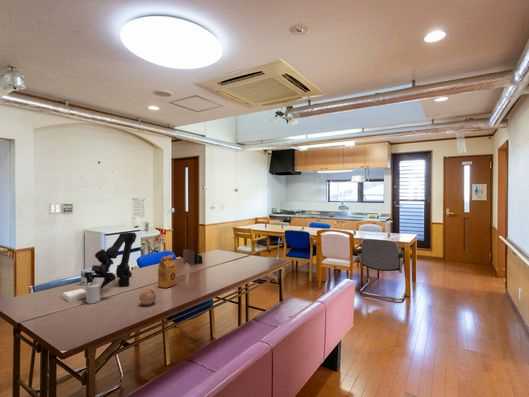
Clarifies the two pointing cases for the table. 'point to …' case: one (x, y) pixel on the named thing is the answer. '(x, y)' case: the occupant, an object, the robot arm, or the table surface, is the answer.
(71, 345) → the table surface
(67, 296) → the stand
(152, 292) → the onion
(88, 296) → the can
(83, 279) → the light bulb box
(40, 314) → the table surface
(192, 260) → the letter holder
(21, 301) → the table surface
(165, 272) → the coffee package
